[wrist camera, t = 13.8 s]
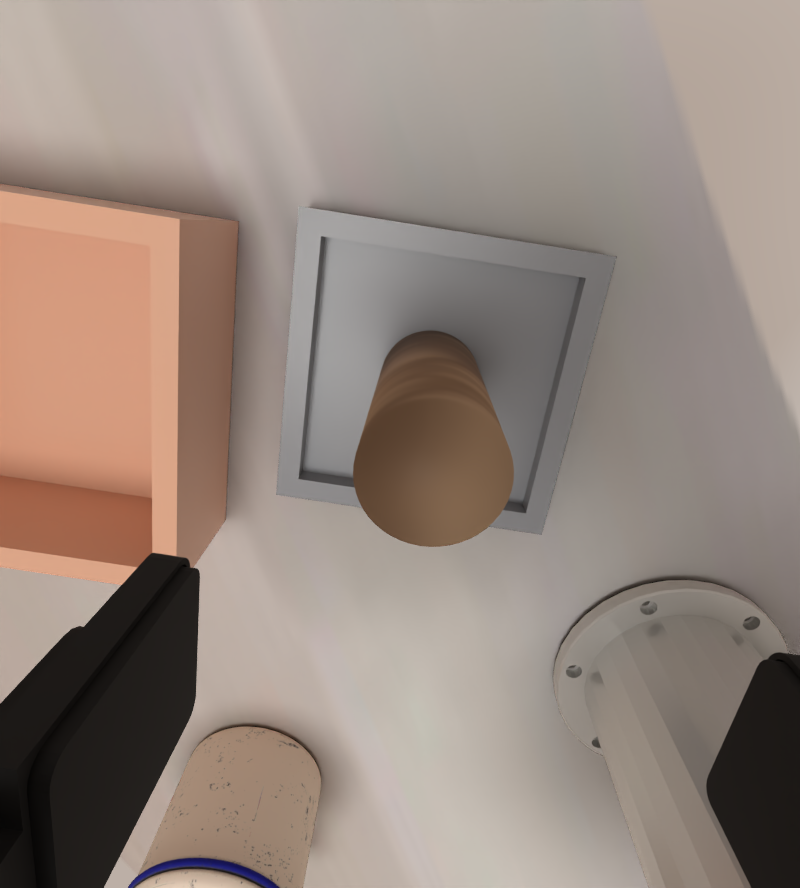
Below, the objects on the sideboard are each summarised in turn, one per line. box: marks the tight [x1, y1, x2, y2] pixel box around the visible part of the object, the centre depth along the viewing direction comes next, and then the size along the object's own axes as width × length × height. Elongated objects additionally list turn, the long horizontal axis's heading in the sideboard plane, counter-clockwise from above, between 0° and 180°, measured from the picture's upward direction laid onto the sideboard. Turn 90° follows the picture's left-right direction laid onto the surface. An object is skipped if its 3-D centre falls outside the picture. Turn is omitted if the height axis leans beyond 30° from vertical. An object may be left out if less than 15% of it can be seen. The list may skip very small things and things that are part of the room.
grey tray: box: [276, 206, 617, 535], centre depth 26 cm, size 13×13×2 cm
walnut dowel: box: [353, 330, 514, 547], centre depth 21 cm, size 4×4×11 cm
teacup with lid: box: [128, 727, 321, 888], centre depth 32 cm, size 12×9×12 cm
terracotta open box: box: [0, 184, 239, 585], centre depth 25 cm, size 15×15×6 cm
